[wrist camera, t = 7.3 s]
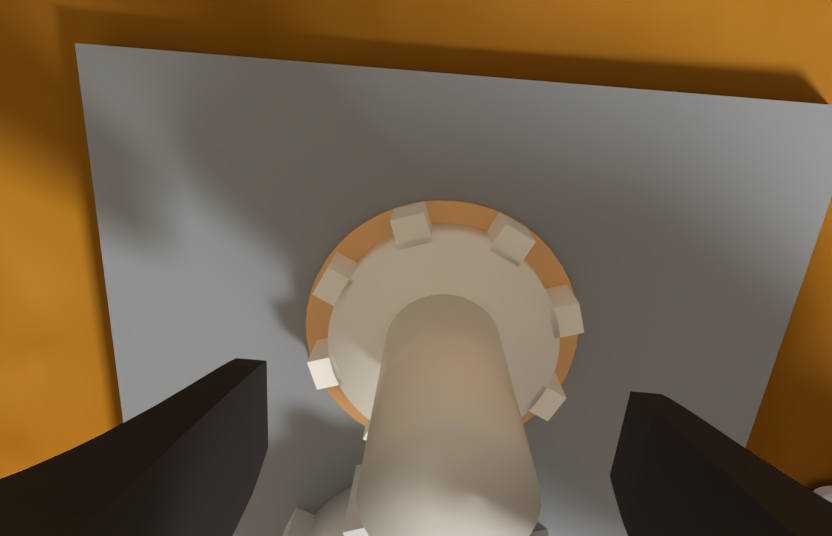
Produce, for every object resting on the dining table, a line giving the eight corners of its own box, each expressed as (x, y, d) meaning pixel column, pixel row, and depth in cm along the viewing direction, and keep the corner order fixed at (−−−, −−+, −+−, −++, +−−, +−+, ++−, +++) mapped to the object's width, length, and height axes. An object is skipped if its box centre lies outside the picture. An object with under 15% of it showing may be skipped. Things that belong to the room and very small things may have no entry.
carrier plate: (831, 105, 13) (1027, 115, 9) (648, 667, 19) (708, 830, 15) (100, 46, 13) (-63, 27, 9) (166, 625, 20) (92, 775, 15)
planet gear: (594, 225, 13) (729, 343, 7) (537, 444, 15) (603, 675, 9) (329, 187, 13) (241, 274, 7) (310, 413, 15) (231, 626, 9)
